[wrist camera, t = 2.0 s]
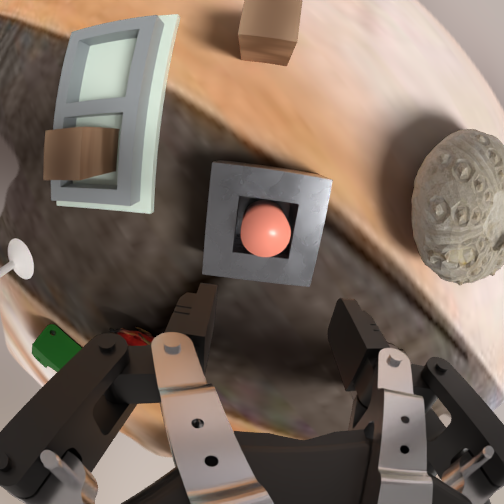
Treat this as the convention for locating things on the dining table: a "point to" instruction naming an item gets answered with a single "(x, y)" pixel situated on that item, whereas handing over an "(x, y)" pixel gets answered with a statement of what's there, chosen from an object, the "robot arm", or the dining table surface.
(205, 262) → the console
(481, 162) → the decorative shell
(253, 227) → the button
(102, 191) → the gray compartment tray
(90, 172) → the block
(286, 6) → the walnut billet
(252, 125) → the dining table surface
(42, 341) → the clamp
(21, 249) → the champagne flute
